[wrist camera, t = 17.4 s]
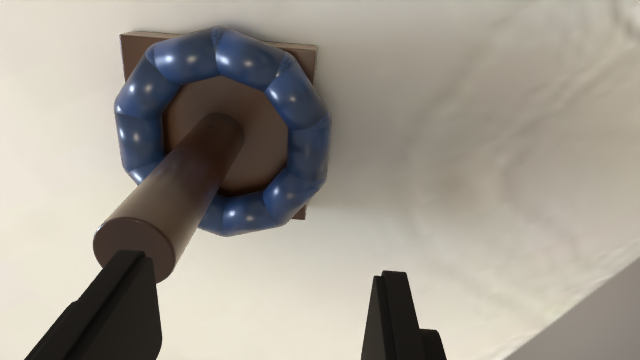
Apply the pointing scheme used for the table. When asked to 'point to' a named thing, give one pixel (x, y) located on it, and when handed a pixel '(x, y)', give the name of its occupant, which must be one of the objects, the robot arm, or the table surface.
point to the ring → (246, 68)
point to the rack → (198, 159)
